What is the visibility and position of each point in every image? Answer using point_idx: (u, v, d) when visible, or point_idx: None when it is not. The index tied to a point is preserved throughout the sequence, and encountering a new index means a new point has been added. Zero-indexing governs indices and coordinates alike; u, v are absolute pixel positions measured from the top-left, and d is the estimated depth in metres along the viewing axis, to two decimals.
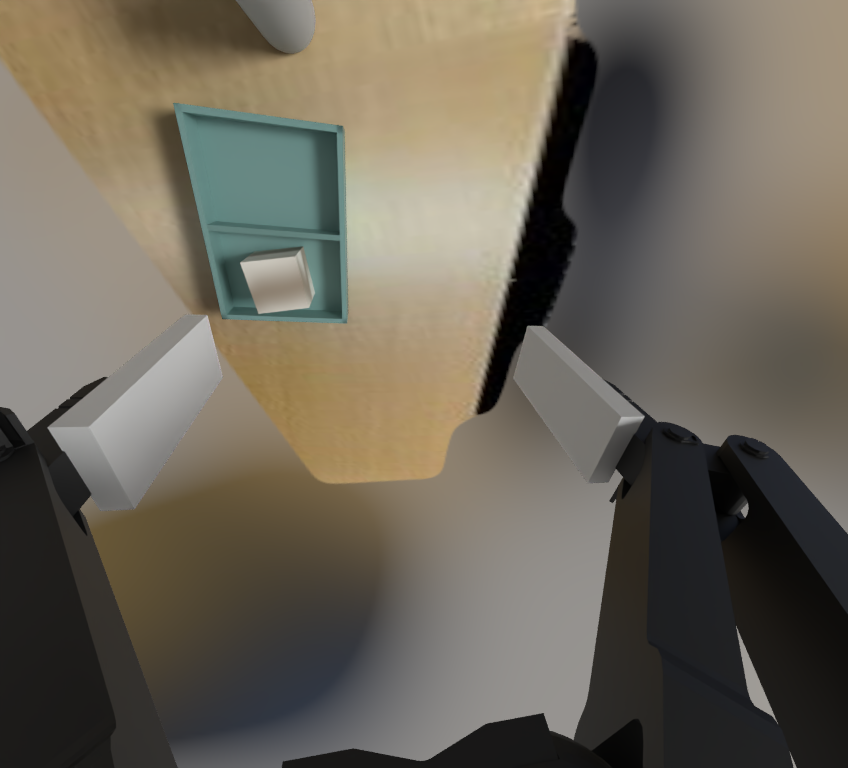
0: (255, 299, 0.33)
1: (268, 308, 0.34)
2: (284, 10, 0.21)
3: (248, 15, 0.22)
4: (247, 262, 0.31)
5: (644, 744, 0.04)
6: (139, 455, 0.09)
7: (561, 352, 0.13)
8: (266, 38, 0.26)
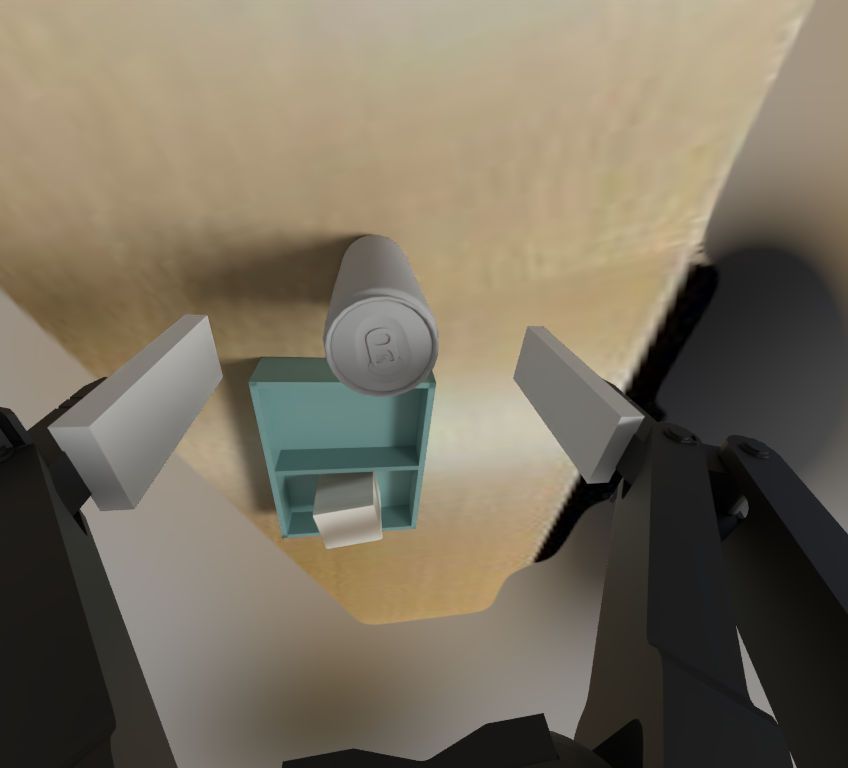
0: (325, 539, 0.30)
1: (338, 544, 0.30)
2: None
3: None
4: (320, 514, 0.28)
5: (644, 744, 0.04)
6: (139, 455, 0.09)
7: (561, 352, 0.13)
8: None
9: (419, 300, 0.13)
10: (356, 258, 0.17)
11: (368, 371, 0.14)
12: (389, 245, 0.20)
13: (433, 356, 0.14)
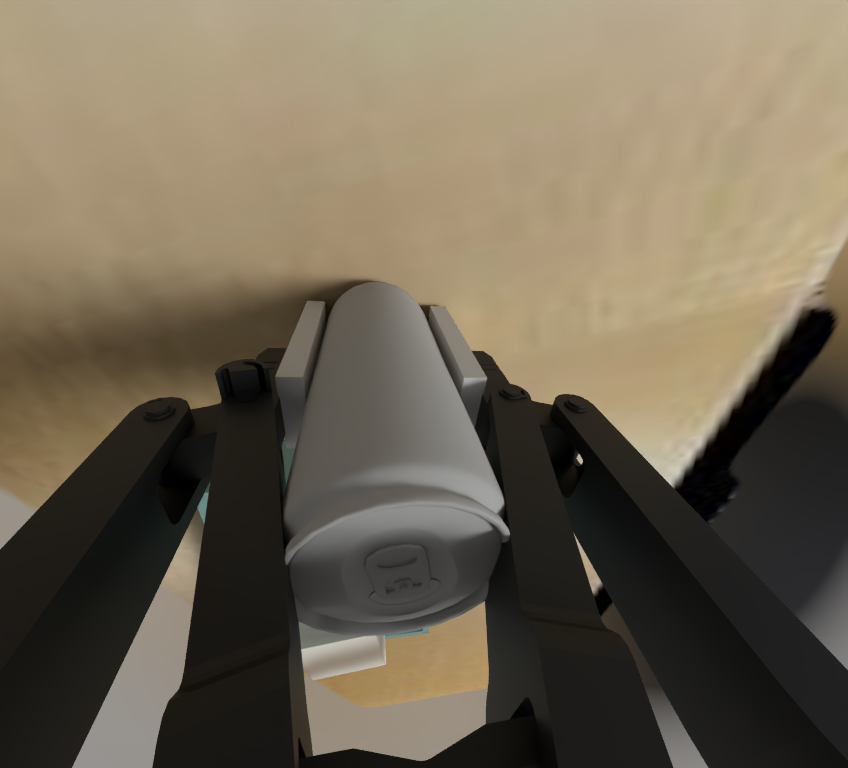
0: (310, 671, 0.22)
1: (328, 674, 0.23)
2: None
3: None
4: (302, 648, 0.20)
5: (537, 726, 0.04)
6: None
7: (446, 327, 0.14)
8: None
9: (478, 475, 0.06)
10: (347, 339, 0.10)
11: (369, 602, 0.07)
12: (400, 303, 0.13)
13: None
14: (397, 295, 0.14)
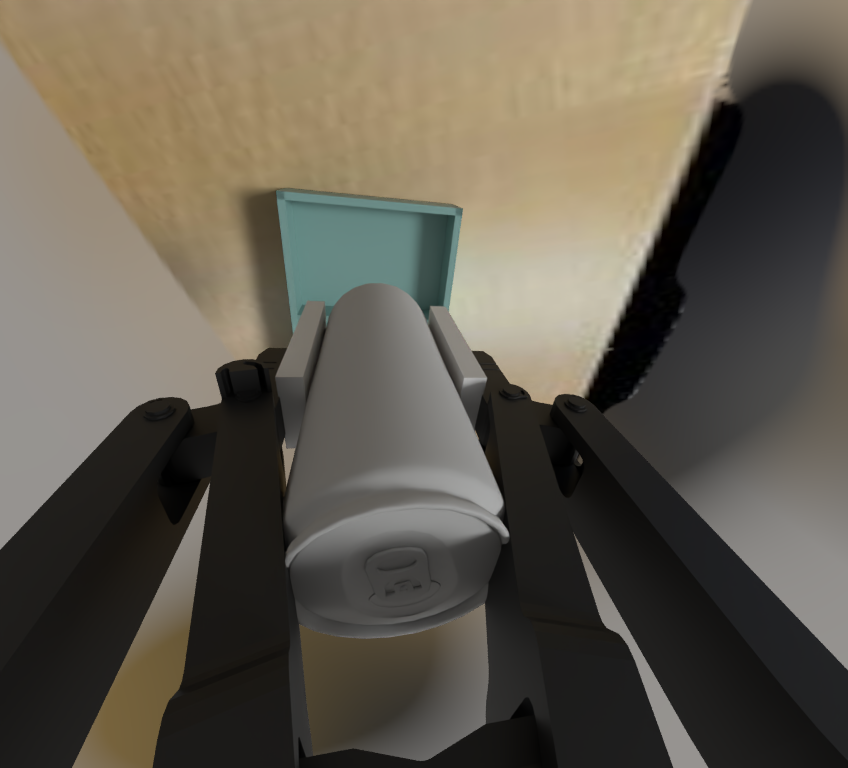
0: None
1: None
2: None
3: None
4: None
5: (537, 726, 0.04)
6: None
7: (447, 327, 0.14)
8: None
9: (478, 478, 0.06)
10: (347, 340, 0.10)
11: (370, 604, 0.07)
12: (400, 305, 0.13)
13: None
14: (397, 296, 0.14)
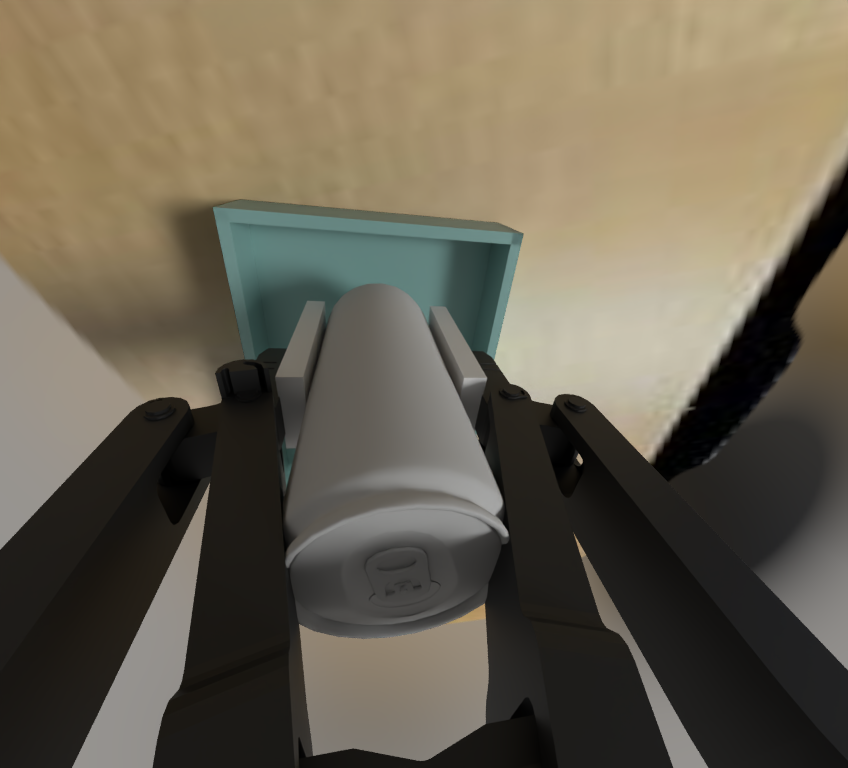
0: None
1: None
2: None
3: None
4: None
5: (537, 726, 0.04)
6: None
7: (446, 327, 0.14)
8: None
9: (478, 478, 0.06)
10: (347, 341, 0.10)
11: (369, 604, 0.07)
12: (399, 305, 0.13)
13: None
14: (397, 297, 0.14)
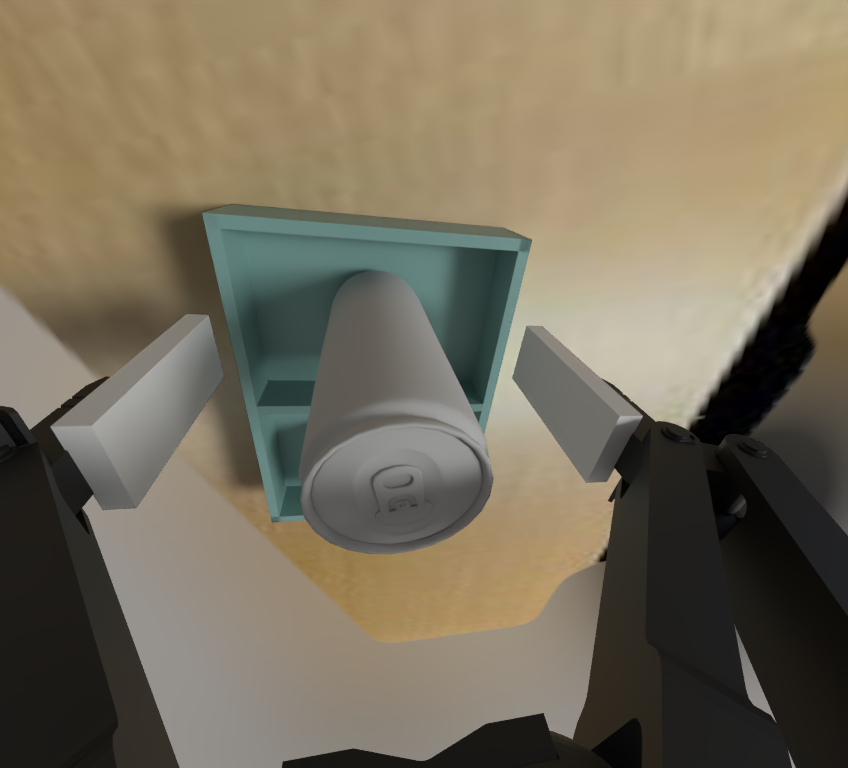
0: None
1: None
2: None
3: None
4: None
5: (643, 744, 0.04)
6: (141, 454, 0.09)
7: (560, 352, 0.13)
8: None
9: (463, 413, 0.08)
10: (352, 315, 0.12)
11: (375, 521, 0.09)
12: (397, 288, 0.14)
13: (482, 496, 0.09)
14: (395, 281, 0.15)
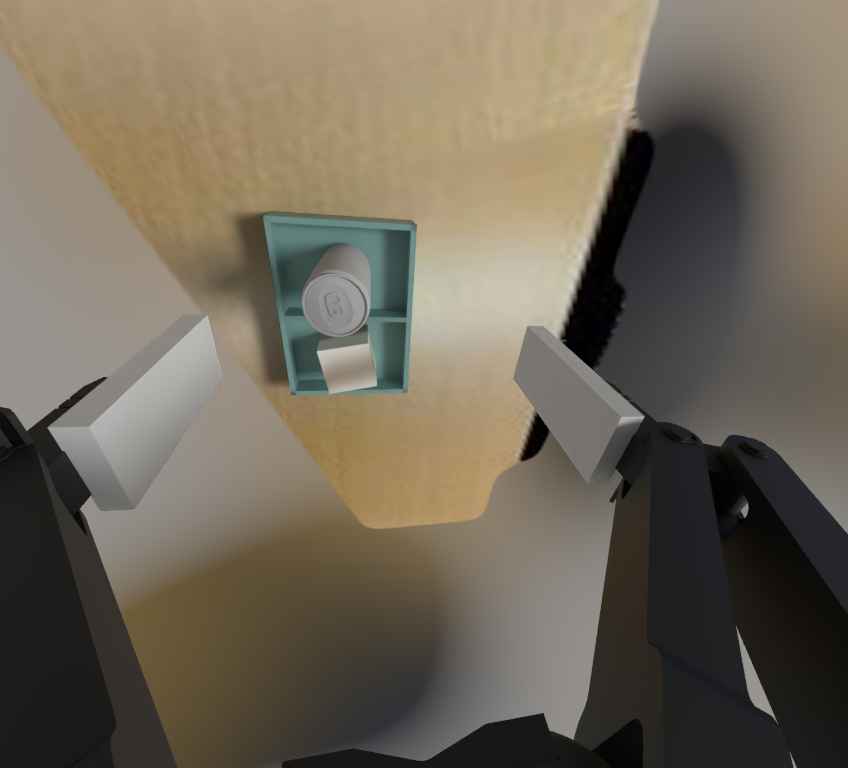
0: (327, 381, 0.34)
1: (339, 388, 0.35)
2: None
3: None
4: (323, 350, 0.33)
5: (644, 744, 0.04)
6: (139, 455, 0.09)
7: (561, 352, 0.13)
8: None
9: (356, 277, 0.23)
10: (326, 256, 0.27)
11: (328, 319, 0.24)
12: (351, 249, 0.30)
13: (366, 310, 0.24)
14: (351, 247, 0.31)
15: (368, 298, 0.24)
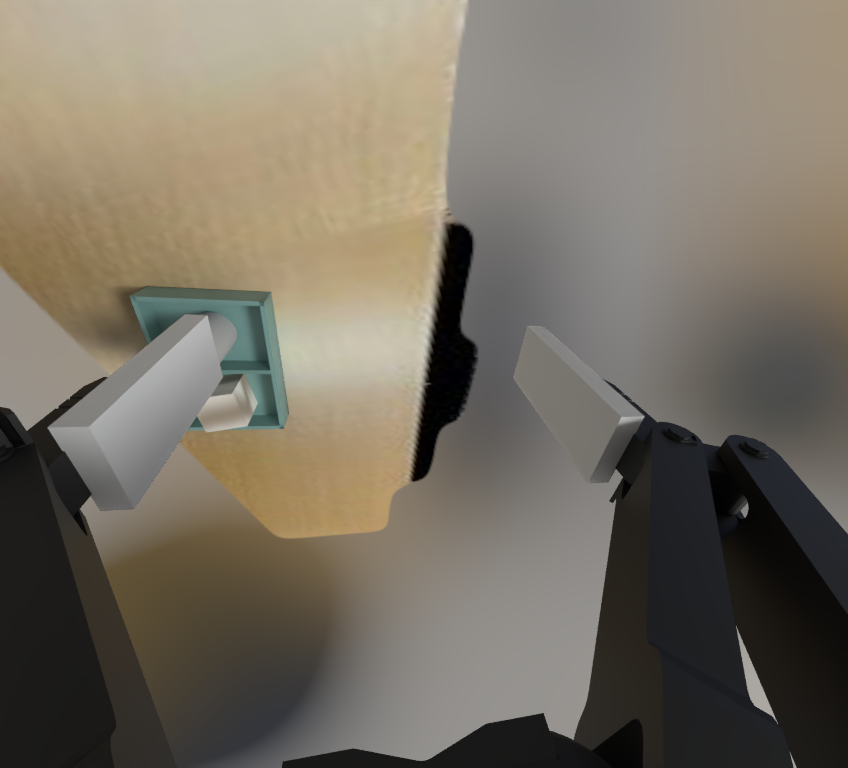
0: (202, 423, 0.41)
1: (213, 428, 0.42)
2: None
3: None
4: None
5: (644, 744, 0.04)
6: (139, 455, 0.09)
7: (561, 352, 0.13)
8: None
9: None
10: None
11: None
12: (209, 321, 0.37)
13: None
14: (212, 317, 0.38)
15: None
